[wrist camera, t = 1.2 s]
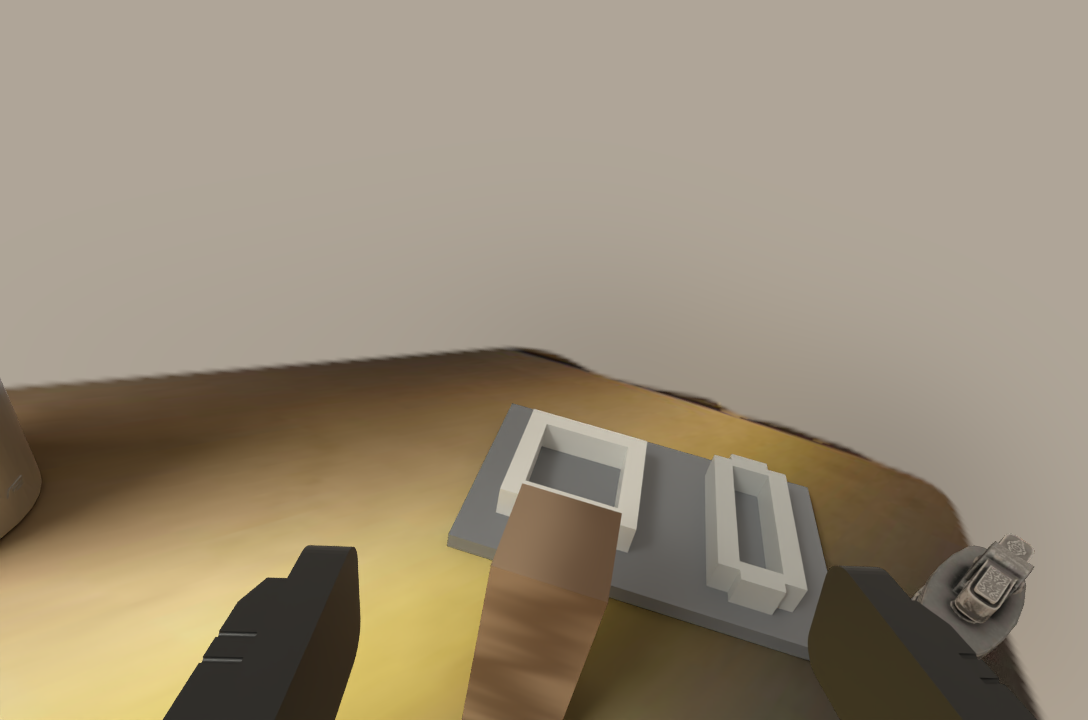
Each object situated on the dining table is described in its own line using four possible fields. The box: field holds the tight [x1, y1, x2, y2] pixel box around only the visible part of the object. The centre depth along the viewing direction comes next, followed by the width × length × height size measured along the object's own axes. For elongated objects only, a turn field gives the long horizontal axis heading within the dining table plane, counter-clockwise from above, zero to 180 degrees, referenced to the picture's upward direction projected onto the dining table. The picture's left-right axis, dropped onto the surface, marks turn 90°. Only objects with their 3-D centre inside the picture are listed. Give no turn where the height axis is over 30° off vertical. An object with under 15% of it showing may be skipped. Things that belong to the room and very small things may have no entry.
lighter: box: [911, 534, 1034, 659], centre depth 27 cm, size 8×3×10 cm, turn 128°
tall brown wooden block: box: [462, 483, 622, 720], centre depth 23 cm, size 4×4×11 cm
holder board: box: [447, 403, 827, 661], centre depth 36 cm, size 22×13×3 cm, turn 77°
